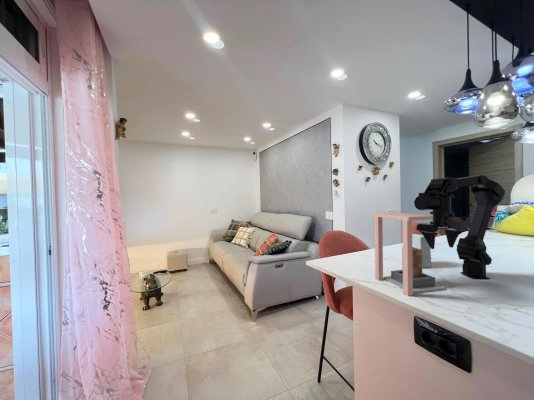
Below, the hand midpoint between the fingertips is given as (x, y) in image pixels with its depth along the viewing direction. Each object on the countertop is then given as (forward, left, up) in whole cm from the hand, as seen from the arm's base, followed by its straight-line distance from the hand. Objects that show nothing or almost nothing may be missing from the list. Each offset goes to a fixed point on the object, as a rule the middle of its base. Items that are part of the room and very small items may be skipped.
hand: (441, 248), depth 85 cm
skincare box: (-2, -19, -13) cm, 23 cm away
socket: (+14, +4, -13) cm, 19 cm away
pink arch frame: (+18, +6, -13) cm, 23 cm away
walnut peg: (+14, +4, -12) cm, 19 cm away
